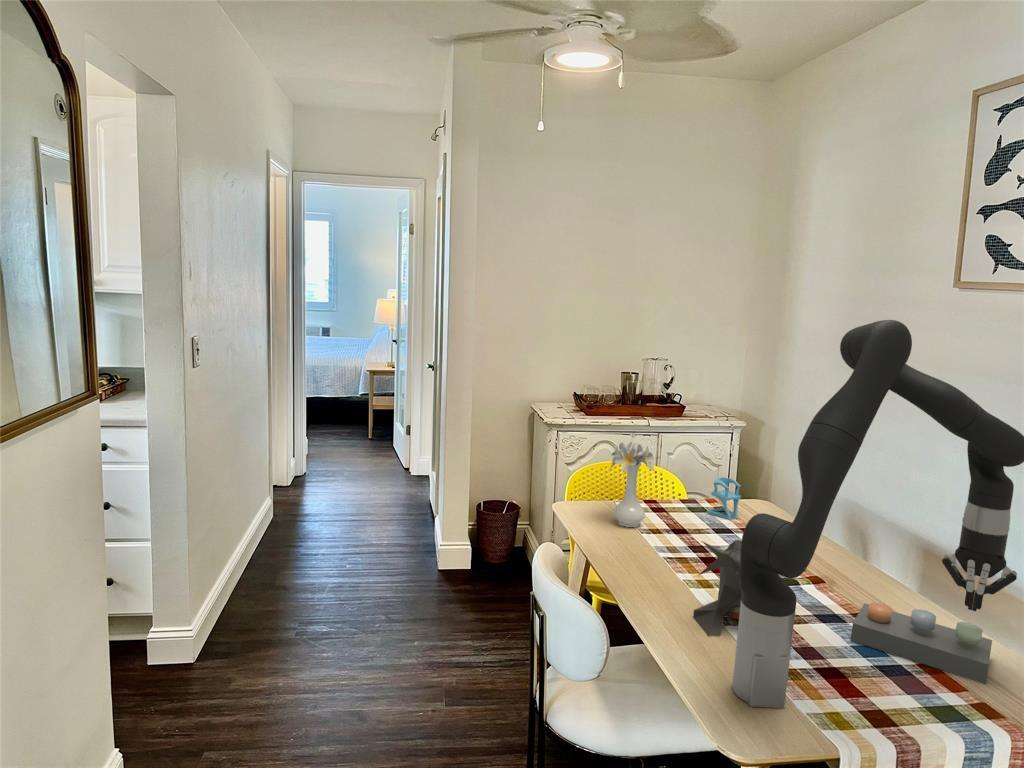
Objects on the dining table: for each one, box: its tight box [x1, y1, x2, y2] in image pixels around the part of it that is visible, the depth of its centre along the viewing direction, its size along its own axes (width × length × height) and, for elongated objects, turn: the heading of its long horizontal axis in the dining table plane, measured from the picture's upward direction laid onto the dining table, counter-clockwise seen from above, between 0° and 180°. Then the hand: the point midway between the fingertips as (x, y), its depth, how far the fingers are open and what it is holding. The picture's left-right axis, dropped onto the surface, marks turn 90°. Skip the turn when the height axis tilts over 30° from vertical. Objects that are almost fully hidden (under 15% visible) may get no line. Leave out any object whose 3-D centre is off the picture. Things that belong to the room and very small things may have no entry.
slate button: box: [910, 608, 937, 631], centre depth 146 cm, size 4×4×2 cm
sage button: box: [955, 621, 984, 644], centre depth 141 cm, size 4×4×2 cm
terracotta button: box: [868, 602, 893, 623], centre depth 151 cm, size 4×4×2 cm
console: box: [850, 603, 993, 684], centre depth 147 cm, size 24×12×4 cm, turn 53°
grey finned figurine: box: [692, 539, 742, 637], centre depth 155 cm, size 14×15×18 cm
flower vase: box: [609, 441, 655, 528], centre depth 212 cm, size 13×18×25 cm
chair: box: [706, 476, 742, 521], centre depth 224 cm, size 8×8×12 cm
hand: (972, 608), depth 140 cm, fingers closed
